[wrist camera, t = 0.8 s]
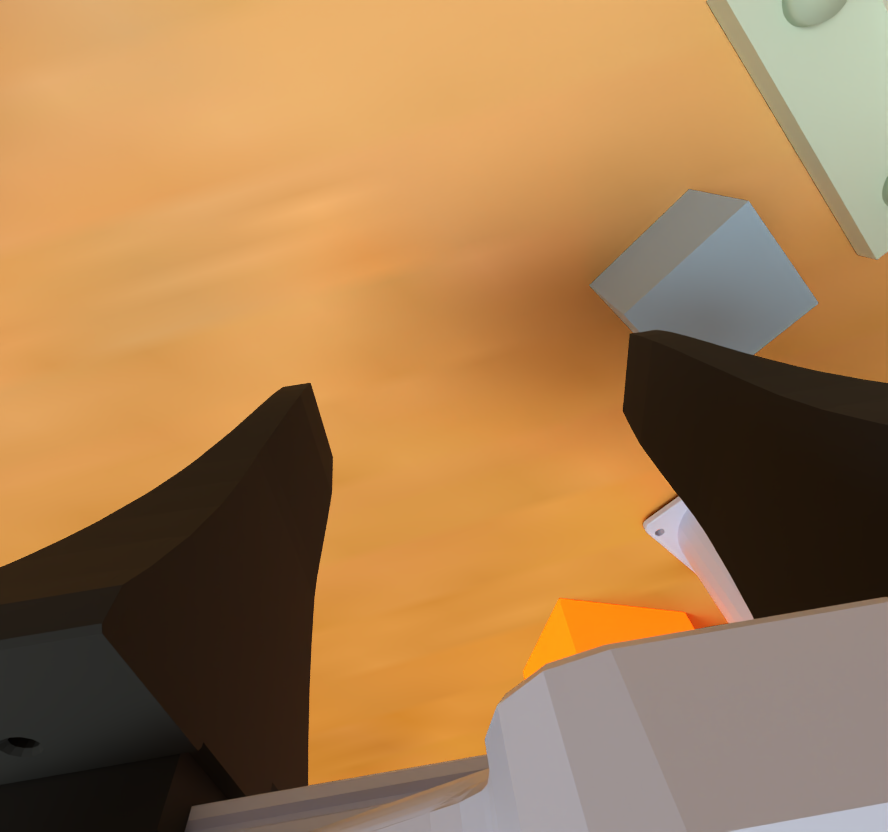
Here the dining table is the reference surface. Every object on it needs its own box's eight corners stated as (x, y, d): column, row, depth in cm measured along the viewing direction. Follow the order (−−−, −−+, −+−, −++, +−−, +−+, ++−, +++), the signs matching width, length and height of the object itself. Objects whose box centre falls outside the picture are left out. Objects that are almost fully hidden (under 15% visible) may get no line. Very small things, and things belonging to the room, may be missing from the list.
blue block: (751, 275, 21) (818, 303, 18) (655, 357, 23) (699, 397, 19) (687, 188, 19) (748, 201, 16) (588, 284, 21) (623, 314, 17)
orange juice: (637, 682, 35) (855, 1208, 18) (521, 672, 34) (636, 1233, 17) (687, 610, 32) (1021, 1185, 14) (558, 595, 30) (758, 1214, 13)
